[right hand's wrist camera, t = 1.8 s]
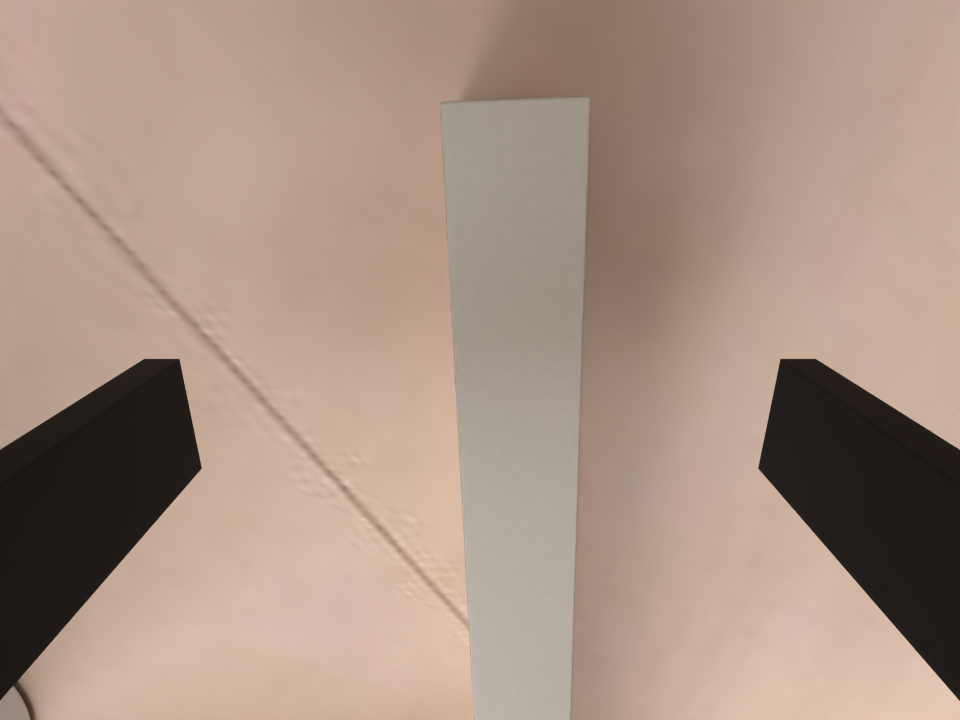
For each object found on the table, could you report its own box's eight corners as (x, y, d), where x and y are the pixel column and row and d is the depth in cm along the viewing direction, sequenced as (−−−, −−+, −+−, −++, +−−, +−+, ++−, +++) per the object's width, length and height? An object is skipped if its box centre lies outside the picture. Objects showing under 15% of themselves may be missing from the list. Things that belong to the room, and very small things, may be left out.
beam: (452, 116, 24) (439, 101, 17) (555, 111, 24) (591, 95, 16) (489, 871, 43) (490, 1028, 36) (546, 870, 43) (561, 1027, 36)
